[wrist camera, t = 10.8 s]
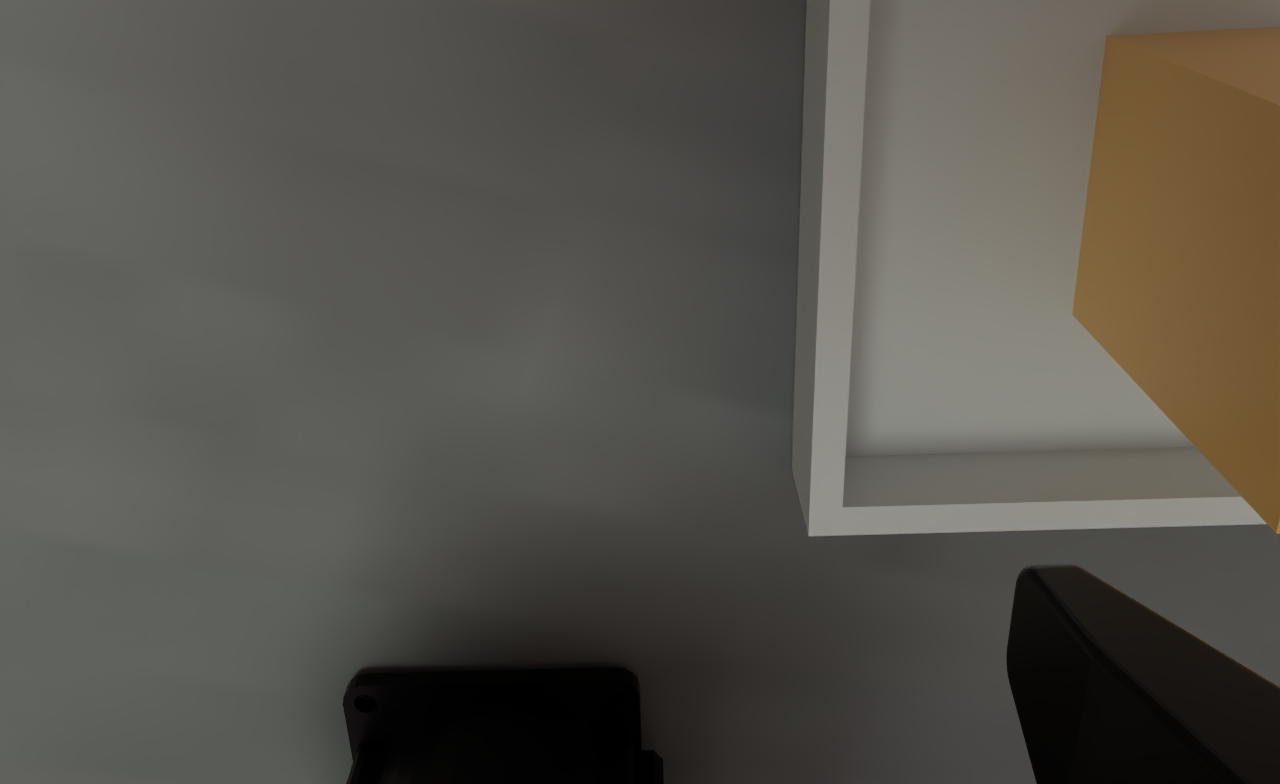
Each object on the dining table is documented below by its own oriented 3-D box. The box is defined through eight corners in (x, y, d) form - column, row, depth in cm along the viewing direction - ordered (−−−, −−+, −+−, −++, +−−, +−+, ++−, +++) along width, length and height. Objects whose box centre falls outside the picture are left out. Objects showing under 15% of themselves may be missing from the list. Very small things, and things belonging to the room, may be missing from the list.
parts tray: (791, 469, 23) (808, 536, 21) (812, -192, 18) (837, -197, 16) (1433, 452, 23) (1520, 517, 21) (1638, -219, 18) (1780, -228, 16)
